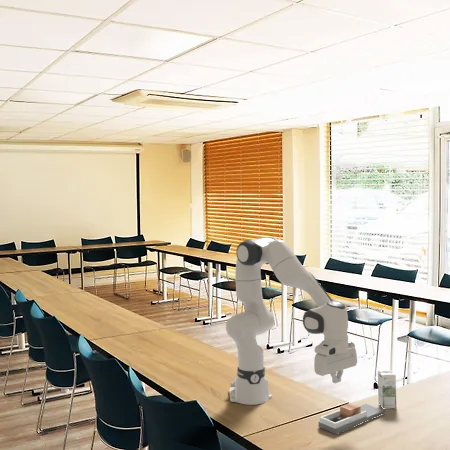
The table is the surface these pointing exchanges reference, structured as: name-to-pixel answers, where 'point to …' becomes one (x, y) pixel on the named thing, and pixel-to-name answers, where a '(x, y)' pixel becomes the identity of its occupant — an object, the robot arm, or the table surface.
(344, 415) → the block
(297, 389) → the table surface
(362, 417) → the channel
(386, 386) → the syrup box
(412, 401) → the table surface
